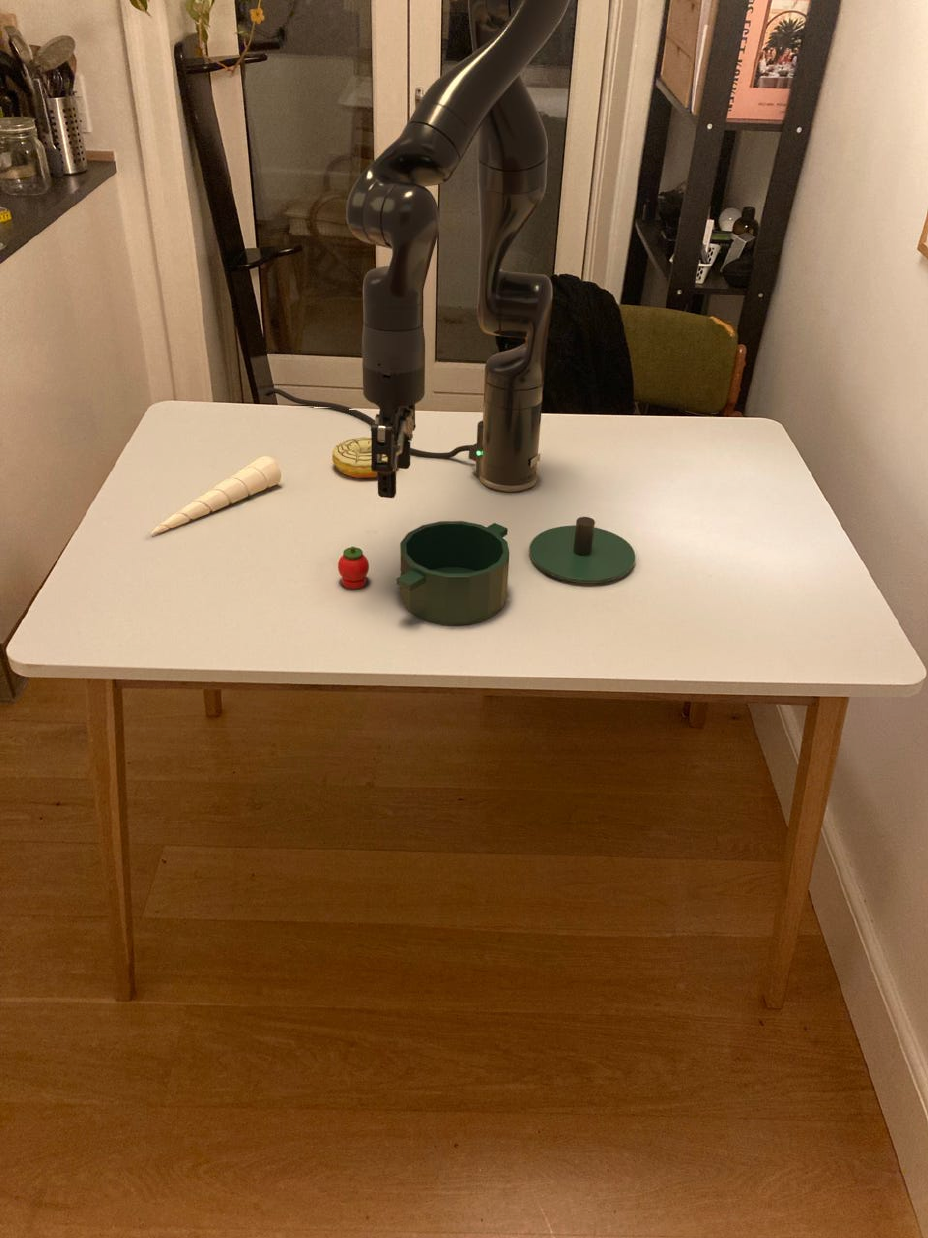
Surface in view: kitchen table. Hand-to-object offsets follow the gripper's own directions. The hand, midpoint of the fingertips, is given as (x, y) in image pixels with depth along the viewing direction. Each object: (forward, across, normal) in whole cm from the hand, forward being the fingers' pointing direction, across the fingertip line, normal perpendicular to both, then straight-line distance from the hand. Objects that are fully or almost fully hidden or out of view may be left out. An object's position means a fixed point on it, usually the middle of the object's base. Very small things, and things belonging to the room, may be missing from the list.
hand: (394, 481), depth 127 cm
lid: (+14, -12, +25) cm, 31 cm away
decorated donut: (+15, -33, -12) cm, 39 cm away
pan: (+15, +2, +8) cm, 17 cm away
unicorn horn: (+15, -15, -31) cm, 37 cm away
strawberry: (+15, +1, -6) cm, 16 cm away
